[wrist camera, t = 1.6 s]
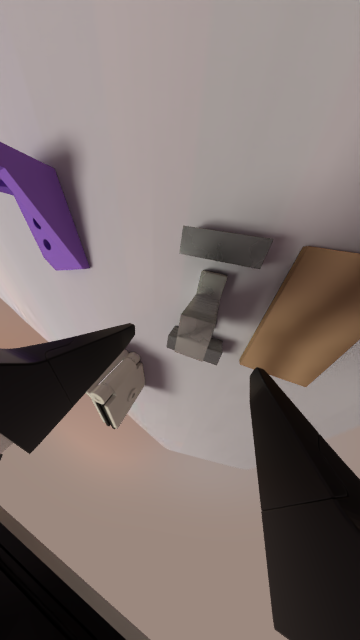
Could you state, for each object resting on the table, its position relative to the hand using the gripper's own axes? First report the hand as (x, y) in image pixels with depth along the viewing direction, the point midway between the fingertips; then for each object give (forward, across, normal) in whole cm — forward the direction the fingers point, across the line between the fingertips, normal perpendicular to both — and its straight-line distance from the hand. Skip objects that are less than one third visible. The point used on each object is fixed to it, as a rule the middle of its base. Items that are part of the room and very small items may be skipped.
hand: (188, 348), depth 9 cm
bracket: (+11, +26, -5) cm, 28 cm away
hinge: (+11, +13, +20) cm, 26 cm away
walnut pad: (+10, -12, 0) cm, 16 cm away
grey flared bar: (+10, 0, 0) cm, 11 cm away
